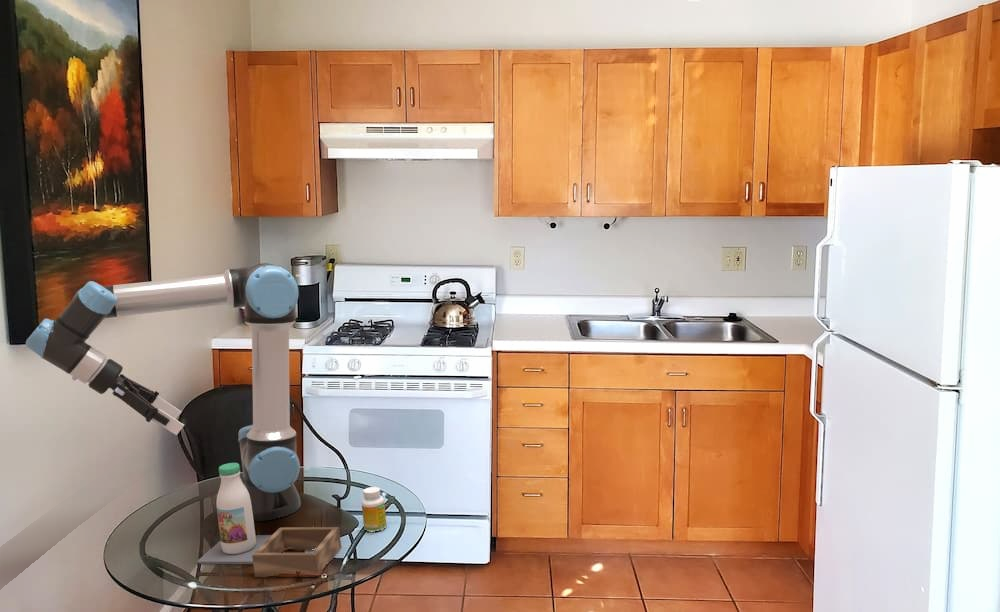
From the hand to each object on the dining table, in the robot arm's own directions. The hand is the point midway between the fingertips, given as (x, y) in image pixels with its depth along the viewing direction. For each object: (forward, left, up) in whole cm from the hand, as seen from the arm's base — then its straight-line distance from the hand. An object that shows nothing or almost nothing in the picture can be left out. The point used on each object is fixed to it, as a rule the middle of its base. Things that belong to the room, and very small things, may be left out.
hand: (179, 423), depth 196 cm
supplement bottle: (-10, +41, -31) cm, 52 cm away
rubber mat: (+2, +12, -30) cm, 33 cm away
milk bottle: (+2, +12, -30) cm, 32 cm away
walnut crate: (+8, +29, -30) cm, 43 cm away
